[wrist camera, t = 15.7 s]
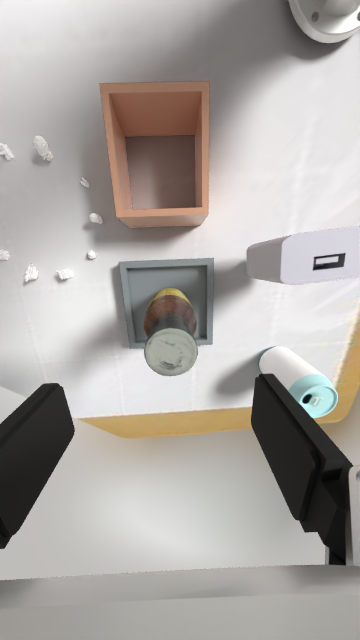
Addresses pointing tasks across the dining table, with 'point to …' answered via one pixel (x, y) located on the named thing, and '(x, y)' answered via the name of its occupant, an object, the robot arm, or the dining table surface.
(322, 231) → the charger
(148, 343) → the sauce bottle
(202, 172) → the open terracotta box
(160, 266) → the tray
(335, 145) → the dining table surface
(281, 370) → the can
